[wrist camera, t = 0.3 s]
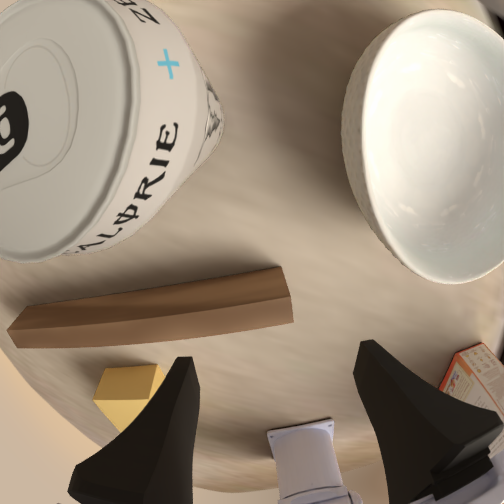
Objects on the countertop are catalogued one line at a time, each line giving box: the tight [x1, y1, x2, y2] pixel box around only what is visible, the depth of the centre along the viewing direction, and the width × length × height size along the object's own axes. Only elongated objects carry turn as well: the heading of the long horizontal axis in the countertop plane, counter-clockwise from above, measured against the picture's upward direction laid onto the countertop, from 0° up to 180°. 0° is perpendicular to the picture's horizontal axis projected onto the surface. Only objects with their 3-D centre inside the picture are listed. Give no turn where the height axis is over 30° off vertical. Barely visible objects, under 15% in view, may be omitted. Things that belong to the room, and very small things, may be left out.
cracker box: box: [438, 343, 504, 504], centre depth 20 cm, size 14×6×21 cm, turn 4°
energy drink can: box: [0, 0, 224, 263], centre depth 10 cm, size 6×6×15 cm
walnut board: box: [7, 267, 294, 348], centre depth 20 cm, size 2×24×4 cm, turn 100°
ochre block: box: [93, 364, 165, 432], centre depth 25 cm, size 9×6×4 cm, turn 12°
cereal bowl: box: [341, 9, 504, 284], centre depth 14 cm, size 17×17×7 cm
